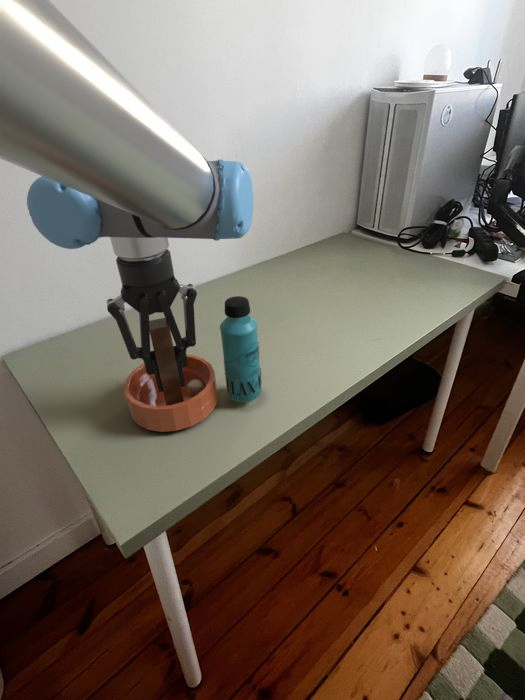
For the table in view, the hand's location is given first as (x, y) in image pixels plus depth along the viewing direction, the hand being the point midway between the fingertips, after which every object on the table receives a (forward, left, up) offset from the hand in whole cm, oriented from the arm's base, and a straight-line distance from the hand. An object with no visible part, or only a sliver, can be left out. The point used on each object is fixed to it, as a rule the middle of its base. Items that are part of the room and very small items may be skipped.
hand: (170, 384), depth 74 cm
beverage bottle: (+9, -8, -7) cm, 14 cm away
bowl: (+1, +2, -6) cm, 7 cm away
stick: (0, 0, -4) cm, 4 cm away
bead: (+5, -1, -4) cm, 6 cm away
